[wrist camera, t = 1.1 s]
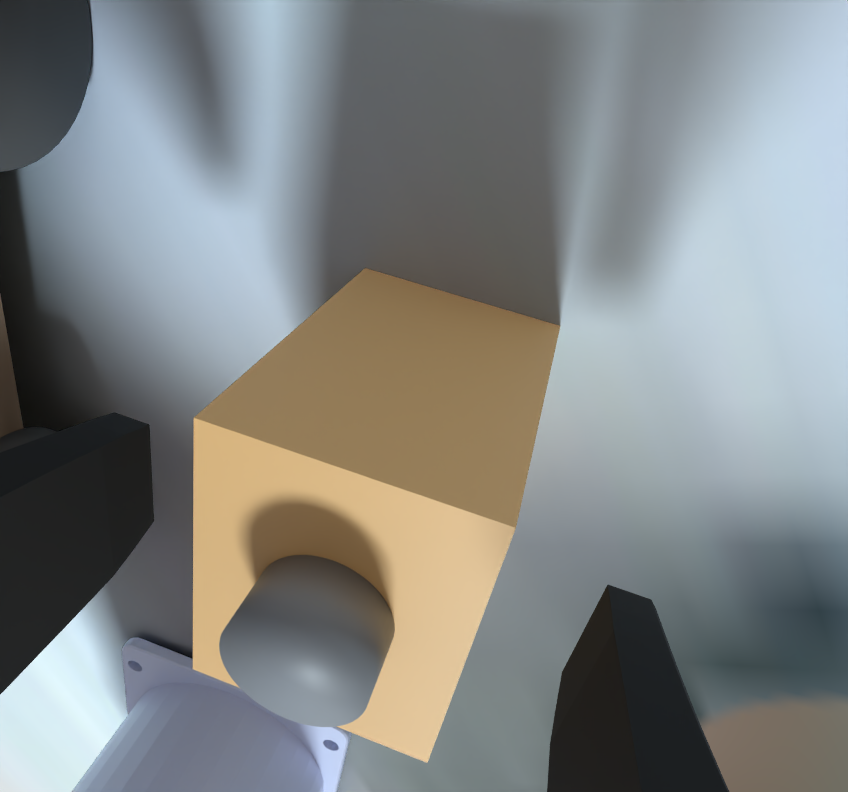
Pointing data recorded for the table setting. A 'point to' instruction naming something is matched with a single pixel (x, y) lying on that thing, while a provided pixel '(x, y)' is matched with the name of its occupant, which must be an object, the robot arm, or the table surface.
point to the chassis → (36, 125)
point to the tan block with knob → (364, 505)
